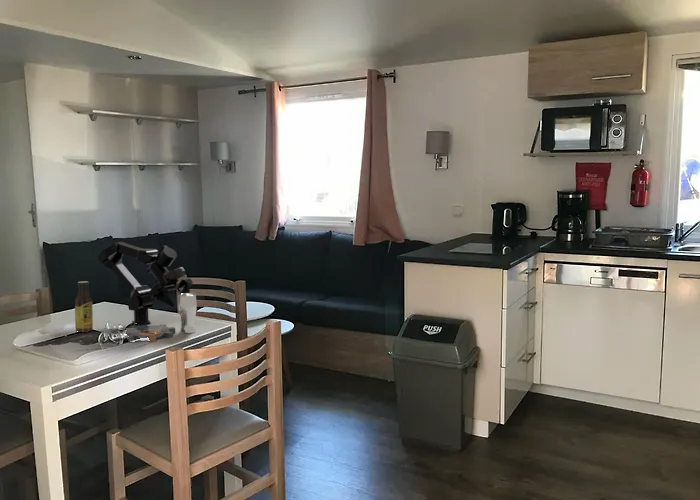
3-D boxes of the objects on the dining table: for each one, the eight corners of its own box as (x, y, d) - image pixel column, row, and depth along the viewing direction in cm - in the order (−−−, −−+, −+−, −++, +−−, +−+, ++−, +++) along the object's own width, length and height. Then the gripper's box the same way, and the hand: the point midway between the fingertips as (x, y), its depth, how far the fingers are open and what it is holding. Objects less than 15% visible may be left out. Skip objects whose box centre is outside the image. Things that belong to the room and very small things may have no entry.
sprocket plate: (117, 332, 224) (116, 327, 224) (169, 326, 233) (169, 321, 233) (124, 345, 206) (123, 339, 206) (180, 338, 216) (180, 332, 216)
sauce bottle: (86, 334, 222) (84, 283, 219) (72, 333, 223) (69, 282, 221) (97, 329, 228) (94, 280, 226) (83, 329, 229) (80, 280, 227)
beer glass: (200, 330, 228) (199, 293, 227) (190, 334, 222) (189, 296, 220) (185, 328, 231) (184, 292, 229) (175, 332, 224) (174, 295, 222)
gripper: (152, 264, 219) (174, 295, 215) (188, 258, 235) (209, 287, 231) (139, 282, 224) (160, 313, 220) (176, 276, 240) (195, 304, 236)
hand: (182, 304), depth 226 cm, fingers open, 9 cm apart
